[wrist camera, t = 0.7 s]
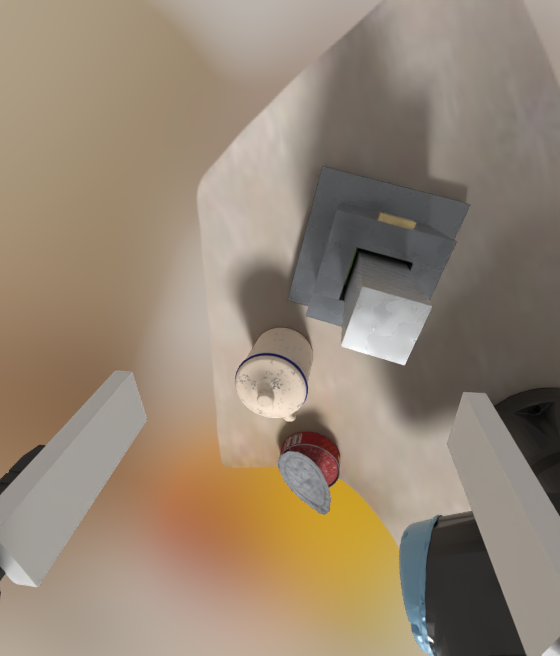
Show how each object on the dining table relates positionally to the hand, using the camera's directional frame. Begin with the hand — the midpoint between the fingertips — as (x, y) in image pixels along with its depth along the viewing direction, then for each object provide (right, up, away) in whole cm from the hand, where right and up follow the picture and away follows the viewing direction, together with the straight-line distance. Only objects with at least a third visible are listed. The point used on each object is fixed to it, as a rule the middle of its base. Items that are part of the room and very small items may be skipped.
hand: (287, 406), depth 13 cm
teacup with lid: (+1, -2, +35) cm, 35 cm away
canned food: (+5, -18, +42) cm, 46 cm away
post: (+10, +11, +25) cm, 29 cm away
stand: (+10, +12, +26) cm, 31 cm away
